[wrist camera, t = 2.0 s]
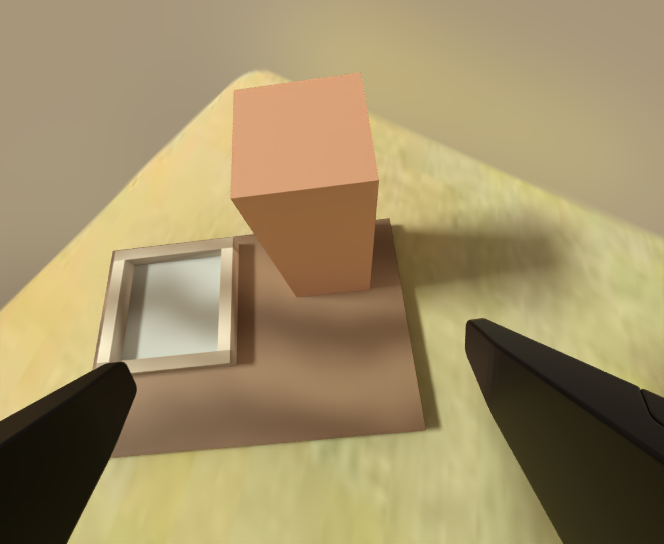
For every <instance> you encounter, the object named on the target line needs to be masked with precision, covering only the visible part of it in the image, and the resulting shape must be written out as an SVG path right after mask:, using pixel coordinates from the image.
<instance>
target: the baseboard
mask: <svg viewBox="0 0 664 544" xmlns="http://www.w3.org/2000/svg"><path fill="white" fill-rule="evenodd" d="M117 361H122V362H125V363H126V364H127V366H128V368H129V370H130V372H131V374H132V376H133V378H134V380H135V383H136V385H137V393H136V396H135V399H134V401H133V404H132V406H131V409H130V411H129V414H128V416H127V419H126V421H125V424H124V426H123V429H122V431H121V434H120V436H119V439H118V441H117V444H116V446H115V448H114V451H113V453H112V455H111V457H122V456H134V455H145V454H157V453H169V452H180V451H192V450H203V449H215V448H227V447H238V446H250V445H261V444H273V443H284V442H296V441H308V440H319V439H331V438H342V437H354V436H365V435H377V434H389V433H400V432H412V431H423V430H426V429H425V423H424V417H423V411H422V405H421V400H420V394H419V388H418V382H417V376H416V370H415V365H414V359H413V353H412V347H411V341H410V335H409V330H408V324H407V318H406V312H405V306H404V300H403V295H402V289H401V283H400V277H399V271H398V265H397V260H396V254H395V248H394V242H393V236H392V230H391V225H390V219H389V218H388V219H379V220H375V232H374V244H373V256H372V268H371V280H370V289H369V290H360V291H351V292H341V293H332V294H323V295H314V296H304V297H296V296H295V294H294V293H293V291H292V290H291V288H290V287H289V285H288V284H287V282H286V281H285V279H284V278H283V276H282V275H281V273H280V272H279V270H278V269H277V267H276V266H275V264H274V263H273V261H272V260H271V258H270V257H269V255H268V254H267V252H266V251H265V249H264V248H263V246H262V245H261V243H260V242H259V240H258V239H257V237H256V236H255V234H252V235H244V236H235V237H227V238H218V239H210V240H201V241H193V242H184V243H176V244H167V245H159V246H150V247H142V248H133V249H125V250H116V251H113V253H112V259H111V265H110V270H109V276H108V282H107V288H106V294H105V300H104V306H103V311H102V317H101V323H100V329H99V335H98V341H97V346H96V352H95V358H94V364H93V370H94V369H96V368H98V367H100V366H102V365H103V364H105V363H109V362H117ZM111 457H110V458H111Z"/></svg>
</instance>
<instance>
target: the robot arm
mask: <svg viewBox="0 0 664 544" xmlns="http://www.w3.org/2000/svg"><path fill="white" fill-rule="evenodd" d="M465 351H466V355H467V358H468V360H469V363H470V365H471V367H472V370H473V372H474V375H475V377H476V379H477V382H478V384H479V387H480V389H481V391H482V394H483V396H484V399H485V401H486V403H487V405H488V408H489V410H490V412H491V414H492V416H493V418H494V419H495V421H496V423H497V425H498V427H499V428H500V430H501V432H502V434H503V436H504V438H505V439H506V441H507V443H508V445H509V447H510V448H511V450H512V452H513V454H514V456H515V457H516V459H517V461H518V463H519V465H520V466H521V468H522V470H523V472H524V474H525V475H526V477H527V479H528V481H529V483H530V484H531V486H532V488H533V490H534V492H535V494H536V495H537V497H538V499H539V501H540V503H541V504H542V506H543V508H544V510H545V512H546V513H547V515H548V517H549V519H550V521H551V522H552V524H553V526H554V528H555V530H556V531H557V533H558V535H559V537H560V539H561V541H562V542H563V544H664V398H663V397H661V396H659V395H657V394H654V393H652V392H650V391H648V390H645V389H641V390H640V388H639V387H638V386H636V385H634V384H632V383H629V382H627V381H625V380H623V379H620V378H618V377H616V376H613V375H611V374H609V373H607V372H604V371H602V370H600V369H598V368H595V367H593V366H591V365H589V364H586V363H584V362H582V361H580V360H577V359H575V358H573V357H571V356H568V355H566V354H564V353H562V352H559V351H557V350H555V349H552V348H550V347H548V346H546V345H543V344H541V343H539V342H537V341H534V340H532V339H530V338H528V337H525V336H523V335H521V334H519V333H516V332H514V331H512V330H510V329H507V328H505V327H503V326H501V325H498V324H496V323H494V322H491V321H489V320H487V319H484V318H480V319H471V320H468V321H467V323H466V334H465ZM136 393H137V385H136V383H135V380H134V378H133V376H132V374H131V372H130V370H129V368H128V366H127V364H126V363H125V362H122V361H117V362H109V363H105V364H103V365H102V366H100V367H98V368H96V369H94V370H92V371H91V372H89V373H87V374H85V375H83V376H82V377H80V378H78V379H76V380H74V381H72V382H71V383H69V384H67V385H65V386H63V387H62V388H60V389H58V390H56V391H54V392H52V393H51V394H49V395H47V396H45V397H43V398H42V399H40V400H38V401H36V402H34V403H32V404H31V405H29V406H27V407H25V408H23V409H22V410H20V411H18V412H16V413H14V414H12V415H11V416H9V417H7V418H5V419H3V420H2V421H0V544H67V542H68V540H69V538H70V536H71V534H72V532H73V530H74V528H75V526H76V525H77V523H78V521H79V519H80V517H81V515H82V513H83V511H84V509H85V507H86V505H87V503H88V501H89V499H90V497H91V495H92V493H93V491H94V489H95V487H96V485H97V483H98V481H99V479H100V477H101V475H102V473H103V471H104V469H105V467H106V465H107V463H108V461H109V459H110V457H111V455H112V453H113V451H114V448H115V446H116V444H117V441H118V439H119V436H120V434H121V431H122V429H123V426H124V424H125V421H126V419H127V416H128V414H129V411H130V409H131V406H132V404H133V401H134V399H135V396H136Z"/></svg>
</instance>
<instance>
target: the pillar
mask: <svg viewBox="0 0 664 544" xmlns="http://www.w3.org/2000/svg"><path fill="white" fill-rule="evenodd" d="M378 184H379V178H378V172H377V166H376V160H375V154H374V148H373V142H372V136H371V130H370V124H369V118H368V112H367V106H366V100H365V94H364V88H363V82H362V76H361V73H354V74H347V75H340V76H332V77H325V78H319V79H311V80H304V81H297V82H289V83H282V84H275V85H268V86H261V87H254V88H247V89H239V90H234V101H233V134H232V167H231V200H232V201H233V203H234V204H235V206H236V207H237V209H238V210H239V212H240V213H241V215H242V216H243V218H244V219H245V221H246V222H247V224H248V225H249V227H250V228H251V230H252V231H253V233H254V234H255V236H256V237H257V239H258V240H259V242H260V243H261V245H262V246H263V248H264V249H265V251H266V252H267V254H268V255H269V257H270V258H271V260H272V261H273V263H274V264H275V266H276V267H277V269H278V270H279V272H280V273H281V275H282V276H283V278H284V279H285V281H286V282H287V284H288V285H289V287H290V288H291V290H292V291H293V293H294V294H295V296H296V297H304V296H314V295H323V294H332V293H341V292H351V291H360V290H369V289H370V280H371V268H372V256H373V244H374V232H375V220H376V208H377V196H378Z"/></svg>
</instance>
